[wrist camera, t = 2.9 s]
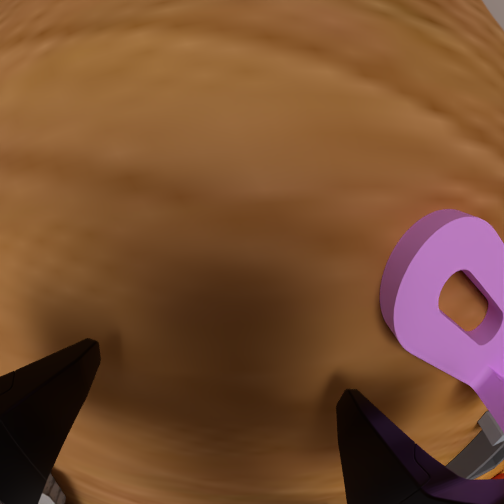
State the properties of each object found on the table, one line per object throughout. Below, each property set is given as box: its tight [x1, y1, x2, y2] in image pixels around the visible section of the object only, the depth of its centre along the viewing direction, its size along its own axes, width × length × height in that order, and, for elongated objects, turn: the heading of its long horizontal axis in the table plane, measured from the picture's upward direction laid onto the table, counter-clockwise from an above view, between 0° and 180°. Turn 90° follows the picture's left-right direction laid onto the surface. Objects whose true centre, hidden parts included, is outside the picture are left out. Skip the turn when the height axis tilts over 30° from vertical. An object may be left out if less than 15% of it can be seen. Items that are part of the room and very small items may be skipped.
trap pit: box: [445, 430, 504, 480], centre depth 13 cm, size 8×8×3 cm
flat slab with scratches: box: [38, 473, 66, 504], centre depth 20 cm, size 45×24×6 cm, turn 158°
